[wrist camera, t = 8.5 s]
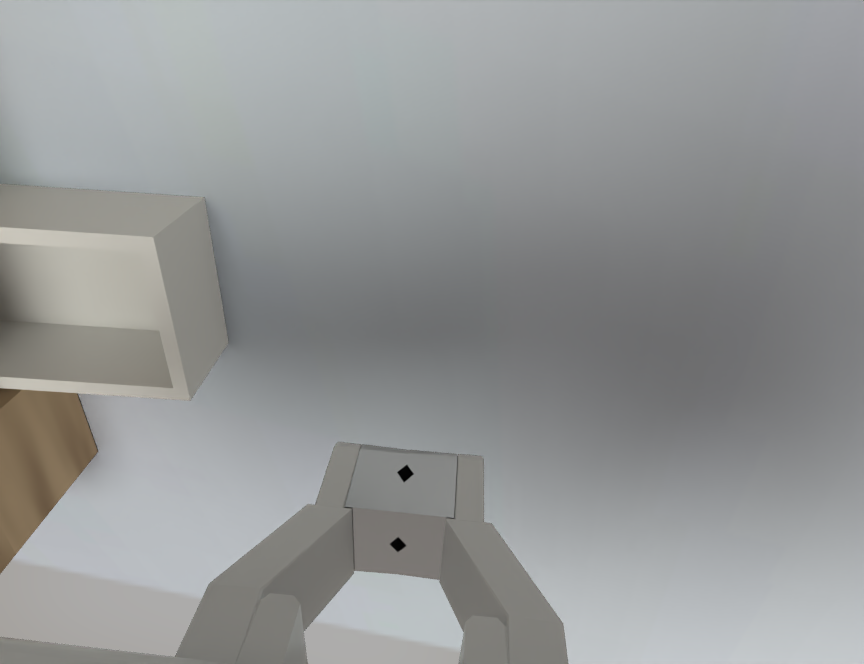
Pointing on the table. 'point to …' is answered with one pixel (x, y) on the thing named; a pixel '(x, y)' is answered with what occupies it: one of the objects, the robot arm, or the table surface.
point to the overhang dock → (37, 459)
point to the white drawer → (107, 293)
